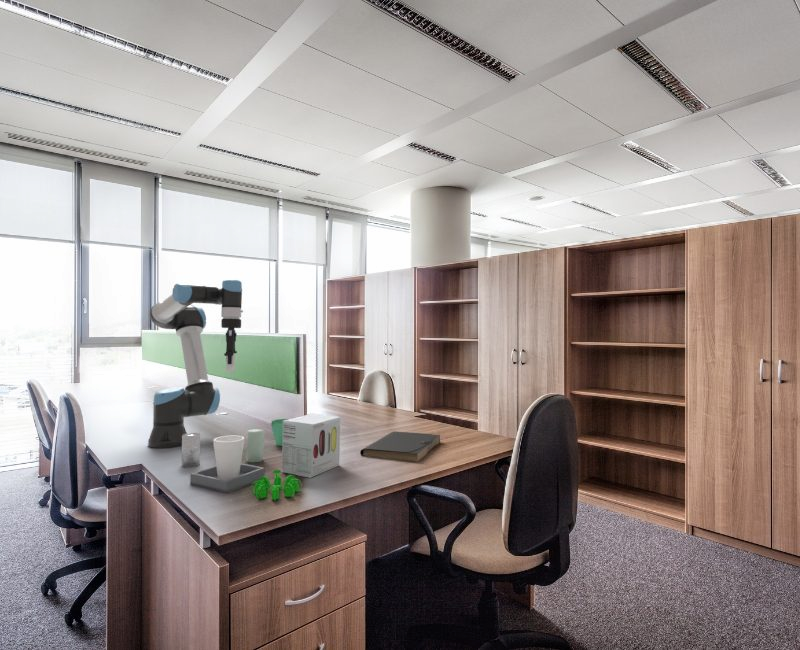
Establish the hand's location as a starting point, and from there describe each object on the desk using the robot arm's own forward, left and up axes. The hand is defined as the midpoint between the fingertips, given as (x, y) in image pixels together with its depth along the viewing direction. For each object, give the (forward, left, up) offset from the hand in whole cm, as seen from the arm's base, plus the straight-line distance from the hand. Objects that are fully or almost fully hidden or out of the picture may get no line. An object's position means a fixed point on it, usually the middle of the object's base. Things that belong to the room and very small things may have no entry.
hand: (230, 371), depth 185 cm
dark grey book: (+59, +39, -33) cm, 78 cm away
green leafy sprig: (+49, -26, -33) cm, 64 cm away
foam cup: (+28, -26, -32) cm, 49 cm away
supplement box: (+43, -2, -33) cm, 54 cm away
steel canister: (+2, -20, -33) cm, 38 cm away
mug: (+13, +20, -33) cm, 41 cm away
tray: (+28, -26, -33) cm, 50 cm away
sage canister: (+18, -4, -33) cm, 37 cm away
